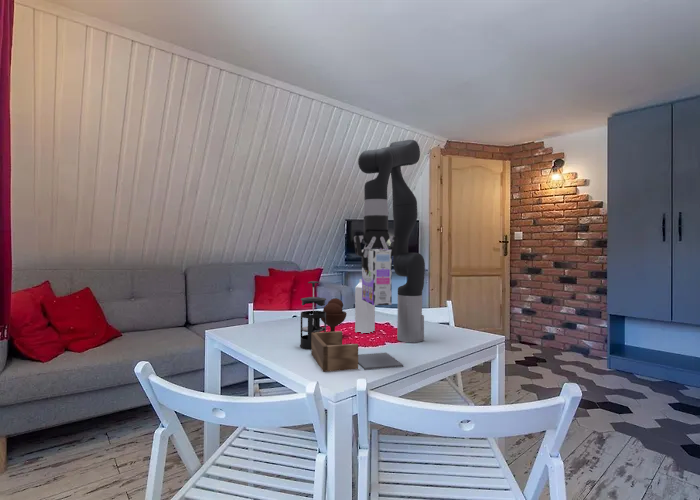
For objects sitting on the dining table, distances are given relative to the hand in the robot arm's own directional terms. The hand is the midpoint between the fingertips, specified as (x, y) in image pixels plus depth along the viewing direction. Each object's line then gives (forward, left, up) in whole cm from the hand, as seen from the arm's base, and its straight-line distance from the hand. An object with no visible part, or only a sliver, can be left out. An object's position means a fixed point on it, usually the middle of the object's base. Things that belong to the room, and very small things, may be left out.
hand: (375, 269), depth 121 cm
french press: (+15, -24, -28) cm, 40 cm away
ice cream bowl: (+5, -37, -28) cm, 47 cm away
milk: (-10, -42, -28) cm, 52 cm away
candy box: (0, 0, -10) cm, 10 cm away
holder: (+12, -4, -28) cm, 31 cm away
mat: (0, 0, -28) cm, 28 cm away
